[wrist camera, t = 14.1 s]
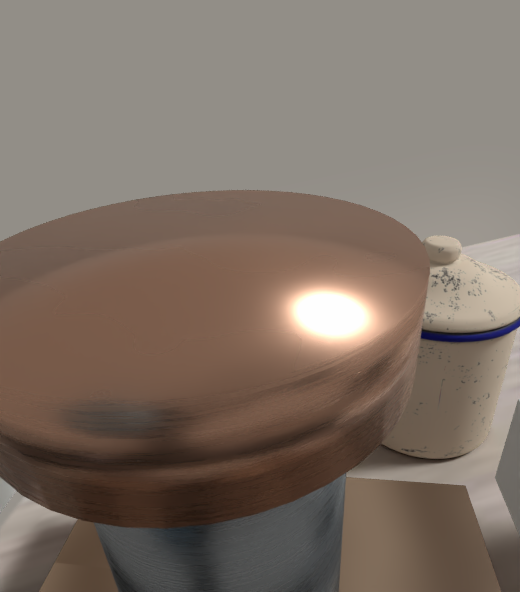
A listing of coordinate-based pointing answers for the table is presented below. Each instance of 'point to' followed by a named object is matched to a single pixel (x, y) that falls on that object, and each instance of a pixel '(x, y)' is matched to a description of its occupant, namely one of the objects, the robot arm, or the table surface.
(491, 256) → the table surface
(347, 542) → the socket block
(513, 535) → the table surface
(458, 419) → the teacup with lid
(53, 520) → the table surface
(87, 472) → the metal pin
